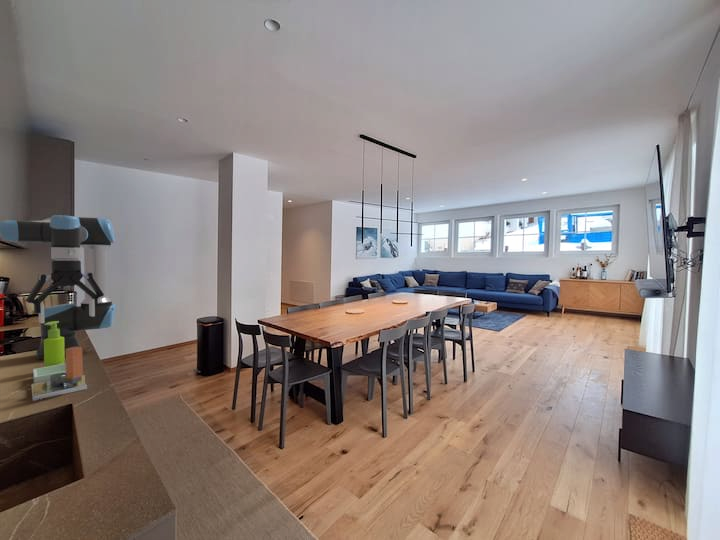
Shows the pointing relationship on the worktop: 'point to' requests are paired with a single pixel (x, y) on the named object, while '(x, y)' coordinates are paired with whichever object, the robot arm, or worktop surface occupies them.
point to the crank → (70, 368)
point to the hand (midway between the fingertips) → (68, 319)
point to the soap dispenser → (54, 346)
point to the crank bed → (55, 389)
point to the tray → (47, 372)
